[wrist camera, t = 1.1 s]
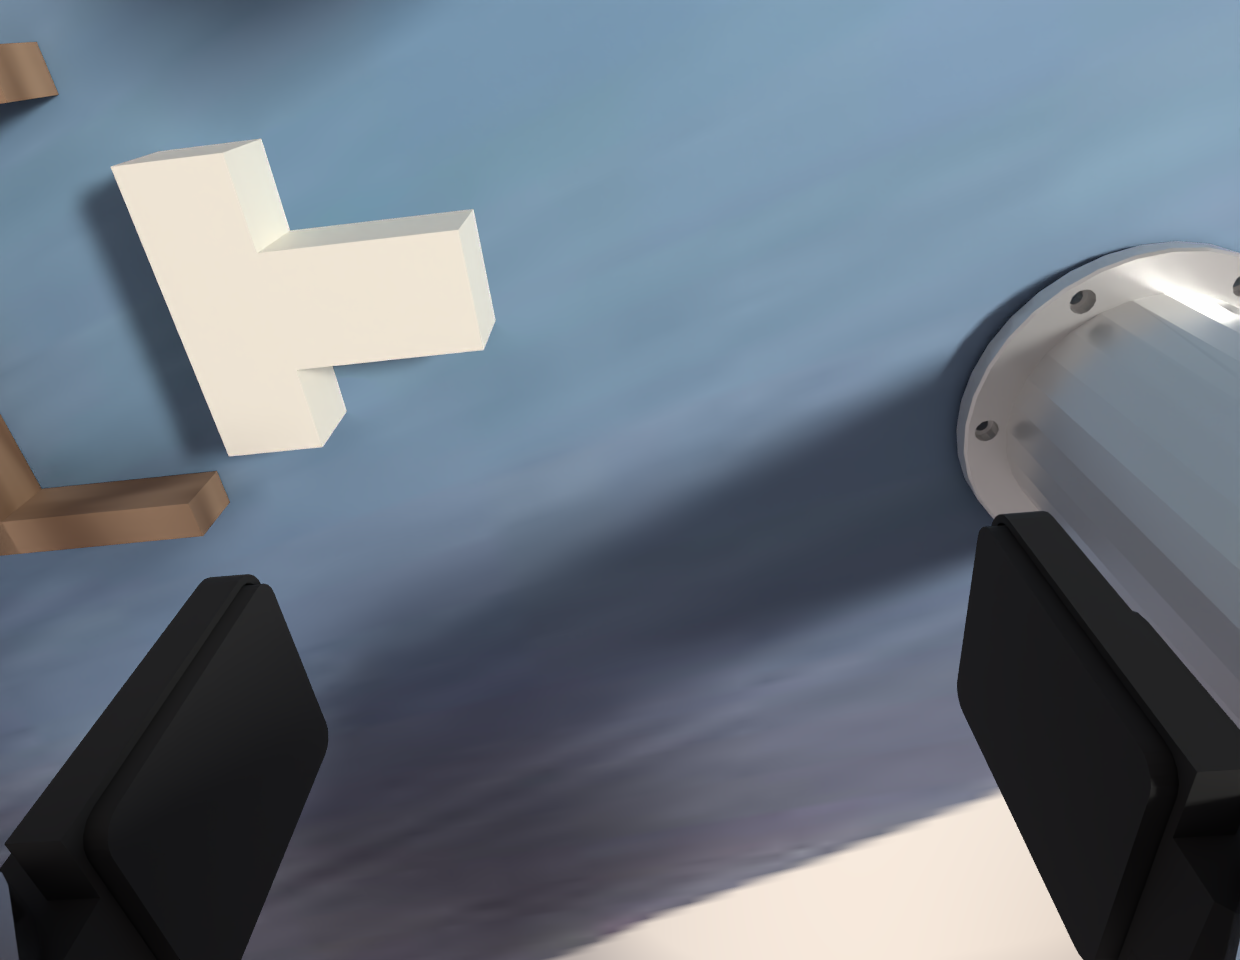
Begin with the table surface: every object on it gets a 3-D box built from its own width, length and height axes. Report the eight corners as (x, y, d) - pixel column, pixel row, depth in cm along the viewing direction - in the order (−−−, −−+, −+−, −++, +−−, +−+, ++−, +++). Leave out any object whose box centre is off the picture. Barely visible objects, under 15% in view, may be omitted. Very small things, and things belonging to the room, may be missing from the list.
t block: (454, 114, 26) (436, 126, 24) (510, 393, 31) (500, 428, 29) (159, 151, 27) (110, 166, 24) (260, 420, 32) (228, 456, 29)
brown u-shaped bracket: (36, 42, 25) (-19, 44, 23) (229, 502, 34) (203, 535, 32) (-234, 78, 26) (-312, 84, 24) (24, 522, 34) (-16, 557, 32)
